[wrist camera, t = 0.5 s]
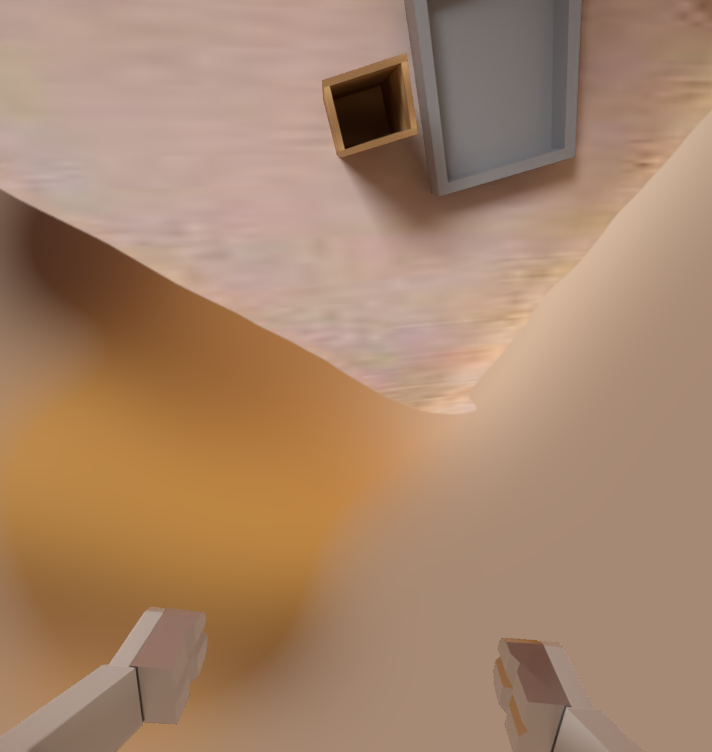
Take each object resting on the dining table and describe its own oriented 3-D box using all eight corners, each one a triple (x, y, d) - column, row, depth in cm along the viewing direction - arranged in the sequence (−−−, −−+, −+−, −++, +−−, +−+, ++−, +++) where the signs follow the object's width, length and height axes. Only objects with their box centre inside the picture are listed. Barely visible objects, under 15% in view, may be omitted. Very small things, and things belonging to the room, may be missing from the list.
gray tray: (401, -20, 38) (408, -37, 34) (561, -75, 37) (586, -98, 33) (431, 192, 48) (439, 196, 45) (556, 155, 47) (574, 156, 44)
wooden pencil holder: (322, 98, 42) (321, 80, 30) (383, 79, 42) (406, 52, 30) (336, 154, 45) (340, 157, 33) (393, 137, 45) (418, 133, 33)
